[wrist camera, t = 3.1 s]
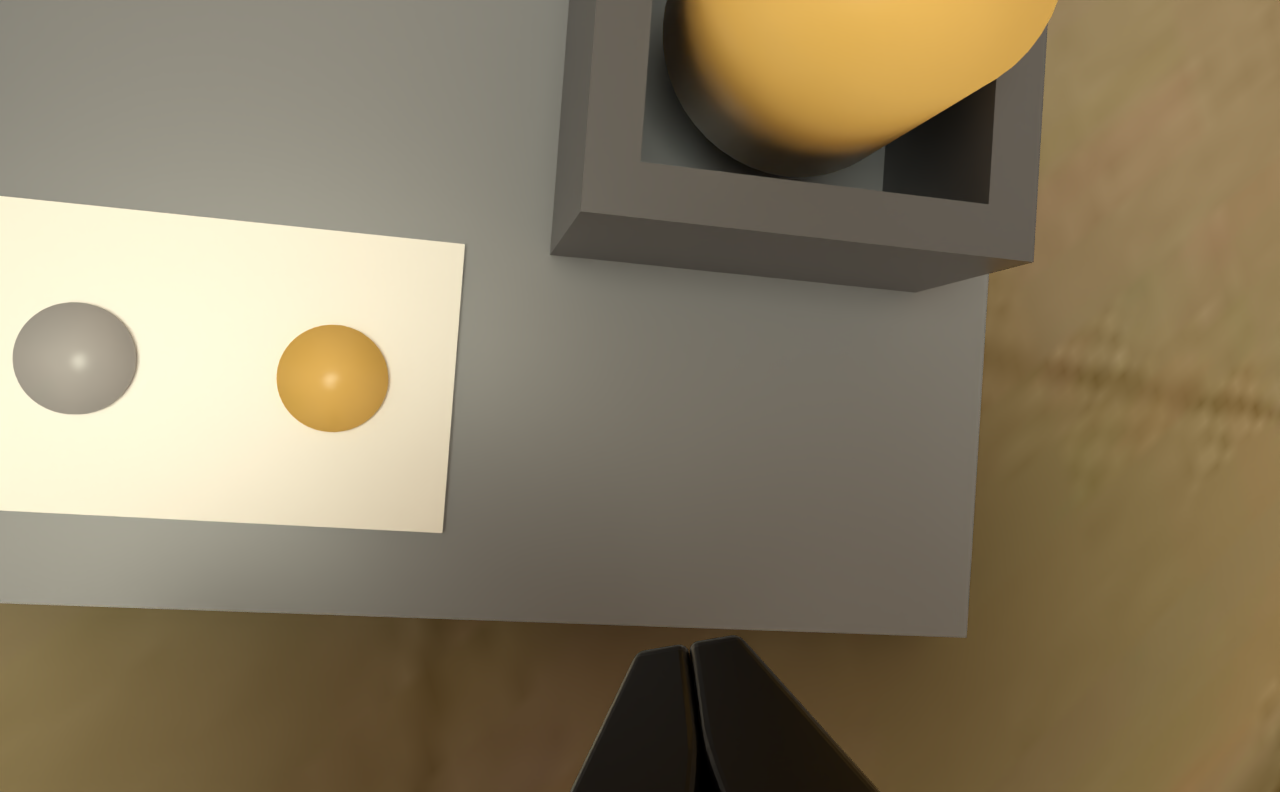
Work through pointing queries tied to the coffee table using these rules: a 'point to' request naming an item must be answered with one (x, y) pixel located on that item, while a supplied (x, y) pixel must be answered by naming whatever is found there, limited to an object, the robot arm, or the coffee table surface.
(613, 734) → the robot arm
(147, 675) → the coffee table surface
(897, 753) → the coffee table surface
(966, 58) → the amber button
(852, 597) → the button panel
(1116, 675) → the coffee table surface
